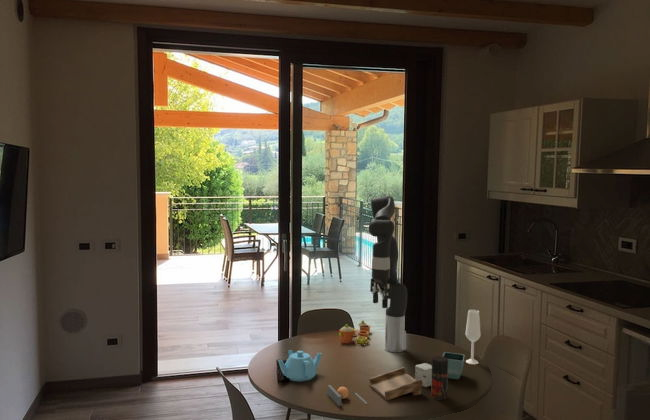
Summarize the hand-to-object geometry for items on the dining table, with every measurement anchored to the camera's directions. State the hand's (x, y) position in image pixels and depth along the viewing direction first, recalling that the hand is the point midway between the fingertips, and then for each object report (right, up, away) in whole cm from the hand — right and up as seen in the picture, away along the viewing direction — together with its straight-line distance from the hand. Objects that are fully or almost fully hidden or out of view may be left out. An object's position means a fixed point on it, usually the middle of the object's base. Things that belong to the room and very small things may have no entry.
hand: (380, 305), depth 213 cm
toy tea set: (-7, -28, +52) cm, 59 cm away
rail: (-20, -31, -23) cm, 43 cm away
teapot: (-34, -30, 0) cm, 45 cm away
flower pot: (+31, -31, +1) cm, 44 cm away
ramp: (+4, -31, -14) cm, 34 cm away
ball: (-17, -29, -22) cm, 40 cm away
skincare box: (+18, -31, -6) cm, 36 cm away
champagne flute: (+44, -30, +18) cm, 56 cm away
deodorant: (+21, -32, -19) cm, 42 cm away
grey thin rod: (-10, -31, -19) cm, 38 cm away
